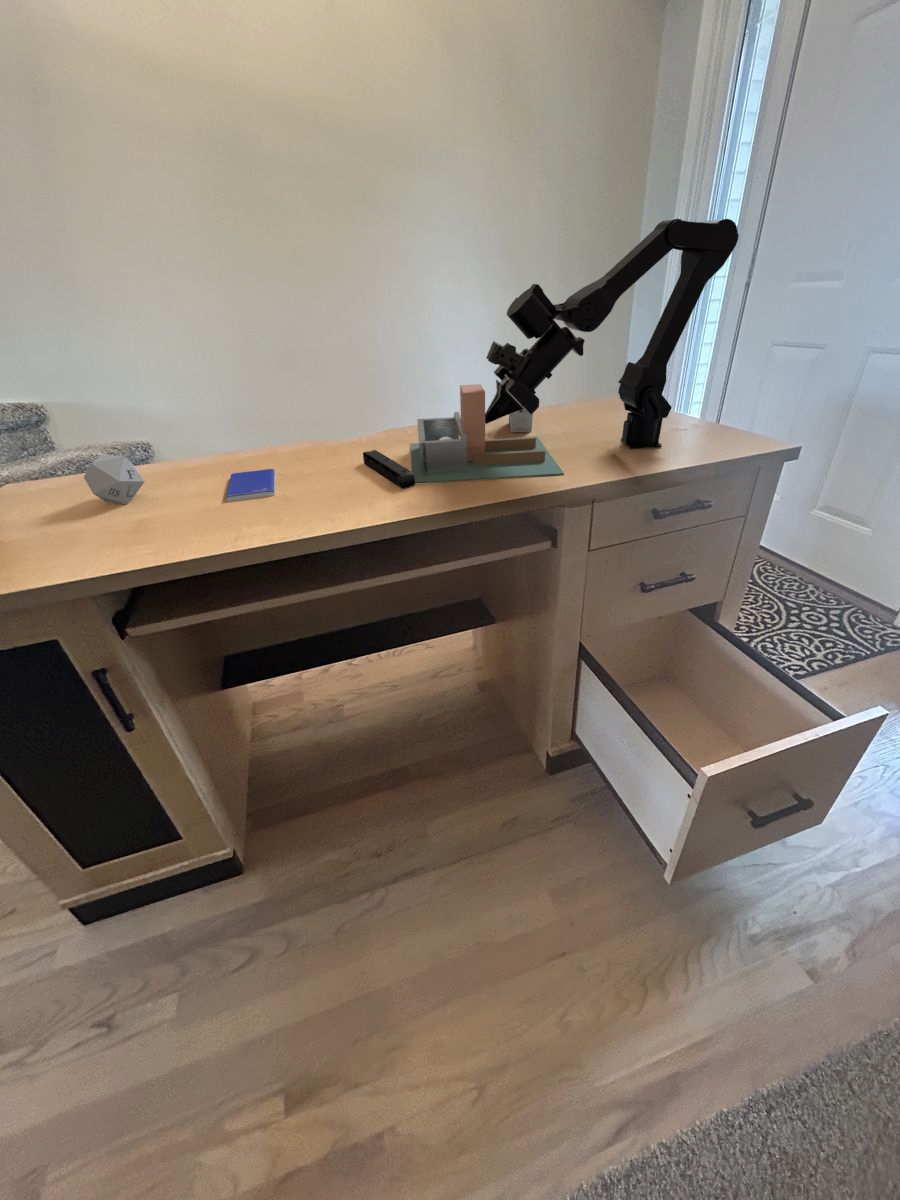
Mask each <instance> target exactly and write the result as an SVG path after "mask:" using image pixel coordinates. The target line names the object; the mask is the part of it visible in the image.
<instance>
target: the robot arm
mask: <svg viewBox="0 0 900 1200" xmlns="http://www.w3.org/2000/svg"><path fill="white" fill-rule="evenodd" d="M739 236H740V235H739V233H738V227H737V225H736V222H735V221H734V220H732V219H730V218H722V219H713V220H712V219H711V220H702V221H700V222H697V221H688V220H683V219H680V218H672V219H665V220H662V221H660V222H658V224H657V225H656V226H655V227H654V229H653V230H652V231H651V232H650V233H649V234H648V235H646V237H643V239H642V240H641V241H640V242H639V243H638V244H636V246H635V247H633V248H632V249H631V250H630V251H629V252H628V253H627V254H626V255H625V256H623V258H622V259H621V260H620V261H618V262H617V263H616V264H615V265H614V266H612V268H611V269H610V270H608V271H607V272H606V273H605V274H604V275H603V276H602V277H600V278H598V279H597V280H595V281H593V282H592V283H589V284H588V285H585V286H583V287H582V288H580V289H579V290H577V291H576V292H574V293H573V294H572V295H570V296H568V297H567V299H565V301H564V302H561V303H557V304H555V303H554V304H553V303H552V301H551V300H550V298H548V296H547V295H546V294H545V292H544V290H543V289H542V287H541V285H539V284H537V283H532V285H531V286H530V287H529V288H527V289H526V290H524V292H522V293H521V294H520V295H519V296H518V297H515V299H514V300H513V301H512V302H511V304H510V305H509V307H508V309H507V310H506V316H507V317H508V318H509V320H510V321H511V322H512V323H513V324H514V325H515V326H516V327H517V329H518V330H519V331H520V332H521V333H522V334H523V335H524V336H525V338H526V339H527V340H530V339H534V338H535V340H536V341H535V343H534V344H533V345H532V346H531V347H530V348H524V349H522V350H521V352H517V347H516V346H515V345H512V344H511V343H509V342H506V343H505V344H504V345H502V344H501V343H498V342H496V341H494V340H493V341H492V343H491V345H490V347H489V348H490V349H489V351H488V353H487V356H486V360H487V361H488V362H490V363H491V364H493V365H499V366H497V367H496V369H495V370H494V371H493V373H494V375H495V376H496V377H497V378H498V379H499V380H501V381H499V380H498V379H496V380H495V384H496V385H495V387H496V388H495V389H496V391H495V392H496V393H495V394H494V396H493V399H492V400H491V403H490V404H489V406H488V408H487V409H486V410H485V425H488V424H490V423H492V422H494V421H497V420H499V419H501V418H503V417H506V416H509V414H511V413H513V412H516V411H519V410H523V407H524V408H525V409H526V410H527V411H528V412H529V413H530V414H531V415H532V414H534V413H535V412H537V410H538V408H540V398H539V397H538V396H537V395H536V393H537V392H536V391H535V390H537V388H538V387H539V386H540V384H542V383H543V381H545V379H547V380H550V378H551V377H553V373H552V372H553V371H554V370H555V369H556V368H557V366H558V365H559V364H560V363H561V362H562V361H563V360H565V358H566V357H567V356H568V355H569V354H570V353H571V352H572V351H573V352H574V353H575V354H576V355H578V356H580V357H582V356H583V355H584V343H585V339H584V338H582V337H581V336H578V337H576V335H575V334H574V333H573V332H572V330H575V331H579V332H584V333H591V332H593V331H595V330H597V329H598V328H599V327H600V326H601V324H603V322H604V321H605V320H606V318H607V317H608V316H609V315H610V314H611V312H612V311H613V309H614V307H615V305H616V303H617V302H618V300H619V299H620V298H621V296H622V295H623V294H624V293H625V292H626V291H628V290H629V288H631V287H632V286H633V285H634V284H635V283H636V282H637V281H639V280H640V279H641V278H642V277H643V276H644V275H645V274H646V273H648V272H649V271H650V270H651V269H652V268H653V267H654V266H655V265H657V263H659V262H660V261H661V260H662V259H663V258H664V257H665V256H666V255H668V254H669V253H670V252H671V251H672V250H676V251H682V253H681V255H680V273H679V276H678V279H677V281H676V283H675V286H674V288H673V290H672V292H671V295H670V297H669V298H668V301H667V303H666V305H665V307H664V310H663V311H662V314H661V316H660V317H659V321H658V323H657V324H656V327H655V329H654V331H653V333H652V336H651V337H650V340H649V341H648V343H647V346H646V349H645V350H644V353H643V355H642V356H641V357H640V358H638V360H637V361H636V363H635V362H631V361H629V362H627V364H626V365H625V369H624V372H623V375H622V376H621V378H620V379H619V380H618V381H617V382H618V384H619V387H618V395H619V399H620V400H621V401H622V403H623V406H624V410H625V411H626V412H627V411H628V412H627V416H626V420H624V421H623V428H622V433H621V435H622V436H621V438H620V442H622V443H623V444H624V445H626V446H627V448H629V449H630V450H637V449H638V450H640V449H654V448H662V443H660V436H661V431H662V425H663V419H666V418H668V416H669V414H670V413H671V410H672V405H671V404H670V403H669V402H668V400H667V399H666V398H665V397H664V395H663V393H664V390H665V387H666V383H667V370H668V369H667V367H668V365H669V361H670V359H671V356H672V355H673V353H674V351H675V348H676V346H677V344H678V342H679V340H680V339H681V336H682V335H683V332H684V330H685V328H686V326H687V324H688V322H689V320H690V318H691V315H692V314H693V312H694V310H695V307H696V305H697V303H698V301H699V299H700V297H701V295H702V293H703V291H704V289H705V287H706V285H707V283H708V282H709V281H710V280H711V279H712V278H713V277H714V276H715V275H716V274H717V273H718V272H719V271H720V270H721V269H722V267H724V265H725V263H726V262H727V260H728V259H729V257H730V255H731V254H732V253H733V251H734V250H735V247H736V246H737V244H738V241H739ZM556 321H562V322H563V324H564V325H565V326H563V327H560V326H559V324H558V323H557V322H556ZM521 405H522V406H523V407H522V406H521Z"/></svg>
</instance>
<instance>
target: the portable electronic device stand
mask: <svg viewBox="0 0 900 1200" xmlns="http://www.w3.org/2000/svg"><path fill="white" fill-rule="evenodd" d="M362 459H363V464H364V465H365V467H366V466H367V467H368V468H369V469H371V470H372V471H374V472H375V473H377V474H378V475H380V476H381V477H383V478H384V479H386V480H387V481H388V482H390V483H392V484H394V485H395V486H396V487H398V488H400V489H401V490H404V489H409V488H412V487H415V485H416V484H415V478H414V475H413V473H412V472H411V470H410V469H408V468H407V467H405V466H404V465H401V464H400V463H398V462H397V461H395V460H393V459H391V458H390V457H388V456H386V455H384V454H383V453H381V452H380V451H378V450H377V449H373V450H369V451H367V450H366V451H364V452H362Z"/></svg>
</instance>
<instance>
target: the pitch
mask: <svg viewBox="0 0 900 1200" xmlns="http://www.w3.org/2000/svg"><path fill="white" fill-rule="evenodd" d="M410 463H411V464H410V466H411V470H410V471H411V472H412V473H413V475H414V478H415V485H417V484H418V485H419V484H432V483H433V484H436V483H452V482H466V481H483V480H484V481H485V480H486V481H487V480H498V479H499V480H500V479H516V478H517V479H518V478H532V477H547V476H551V477H552V476H564V475H565V472H564V471H563V469H562V468H561V467H560V466H559V464H558V463H557V462H556V460H555V459H554V458H553V456H552V455H551V454H550V452H549V450H548V449H547V448H546V446H545V445H544V444H543V443H542V441H541V440H540V439H539V437H538V436H537V435H536V436H522V437H521V436H520V437H506V438H505V437H503V438H502V437H501V438H489V439H488V438H485V453H480V454H473V461H467V473H454V474H437V475H421V466H420V452H419V442H417V443H410Z"/></svg>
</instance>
